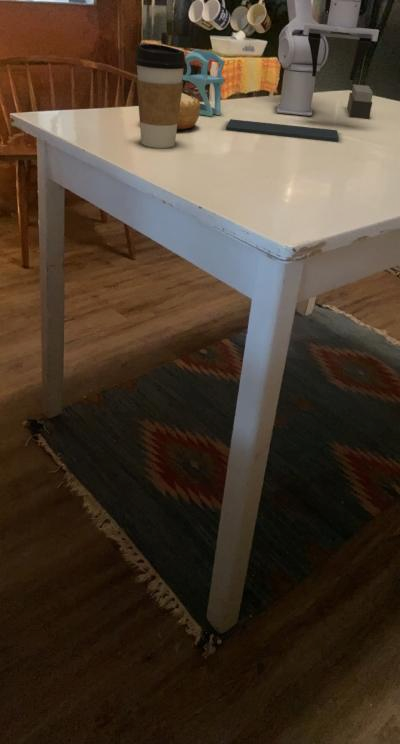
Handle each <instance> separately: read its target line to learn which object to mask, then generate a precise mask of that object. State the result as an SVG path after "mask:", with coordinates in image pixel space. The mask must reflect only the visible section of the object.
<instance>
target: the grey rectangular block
mask: <svg viewBox="0 0 400 744" xmlns="http://www.w3.org/2000/svg"><path fill="white" fill-rule="evenodd" d="M373 95H374V92H373V90H372V88H371V87H370V86H369V85H362V84H361V85H360V84H352V89H351V92H349V96H348V100H347V105H346V106H347V107H346V109H347V112H348V115H349V116H348V117H350V118H354V119H355V118H358V119H366V120H369V119H370V116H371V112H372V107H373V101H372V100H373Z"/></svg>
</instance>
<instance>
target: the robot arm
mask: <svg viewBox="0 0 400 744" xmlns="http://www.w3.org/2000/svg"><path fill="white" fill-rule="evenodd" d="M312 4H313V3H312V0H286V5H287V7H286V8H287V16H288V23H287V24H286V25H285V26H284V27H283V28H282V30H281V31H280V33H279V36H278V49H277V58H278V61H279V63H280V65H281V68H283V75H282V76H283V77H282V84H281V92H280V99H279V103H278V104H277V108H276V113H278V114H286V115H296V116H297V115H298V116H305V117H306V116H307V117H312V116H313V107H312V104H313V96H314V91H315V85H316V78H317V72H320V71H321V68H322V67H323V66H324V65H325V63H326V61H327V59H328V56H329V42H328V40H327V38H326V37H328V38H329V37H330V38H340V39H349V40H350V39H351V40H357V41H356V45H355V50H354V56H353V57H354V58H353V62H352V66H351V70H350V73H349V81H354V80H355V76H356V75H357V74H356V73H357V71H358V69H359V66H360V64H361V62H362V61H363V59H364V57H365V55H366V54H367V52H368V50H369V49H370V47H371V45H372V42H378V38H379V32H380V29H376V28H375V29H374V28H366V27H365V28H364V27H358V26H357V25H358V21H359V15H360V9H361V4H362V0H330V3H329V4H330V5H329V9H328V10H329V11H328V17H327V22H326V24H324V23H323V24H322V23H319V22H317V21H316V20H315V19H314V15H313V14H314V13H313V5H312ZM332 32H334V33H332ZM337 33H338V34H337ZM339 33H345V34H339Z"/></svg>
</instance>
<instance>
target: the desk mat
mask: <svg viewBox="0 0 400 744" xmlns="http://www.w3.org/2000/svg"><path fill="white" fill-rule="evenodd" d="M225 131H231V132H232V131H233V132H242V133H251V134H260V135H268V136H269V135H270V136H279V137H289V138H297V139H298V138H299V139H307V140H309V139H310V140H317V141H326V142H327V141H328V142H337V143H338V142H339V140H340V138H339V132H338V129H328V128H321V127H312V126H311V127H310V126H301V125H291V124H282V123H271V122H261V121H253V120H252V121H251V120H242V119H233V118H231V119H229V120H228V122H227V125H226V126H225Z"/></svg>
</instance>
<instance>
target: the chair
mask: <svg viewBox="0 0 400 744" xmlns="http://www.w3.org/2000/svg"><path fill="white" fill-rule="evenodd" d="M184 57H185V62H186V64H185V65H186V73H185V74H183V77H182V81H185V82H186V81H187V82H189V83H191V84H193V85H194V86H195V87H196V88H197V90H198V91H199V94H200V96H201V98H202V100H203V103H200V114H199V116H200V115H201V116H206V117H214V115H216V116H221V114H222V113H221V112H222V111H221V101H222V100H221V97H222V95H221V94H222V86H223V84H224V83H226V77H223V75H222V72H223V71H222V70H223V68H224V65H225V62H226V60H225V59H222V58H221V57H220V56H219V55H218V54H216V53H214V52H213V51H205V50H202V49H199V48H198V49H194V50H192V51H190V52H188V53H187V54H186V55H185V56H184ZM210 60H214V61H216V62H218V64H219V67H218V69H217V76H213V75H210V74H208V72H209V71H208V70H209V65H210ZM194 61H198V62H200V64H201V69H200V73H197V74H196V73H195V74H191V73H192V68H191V64H190V63H191V62H194ZM211 84H212V86H213V89H214V107H212V105H211V103H210V100H209V97H208V95H207V91H206V86H207V85H211Z"/></svg>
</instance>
